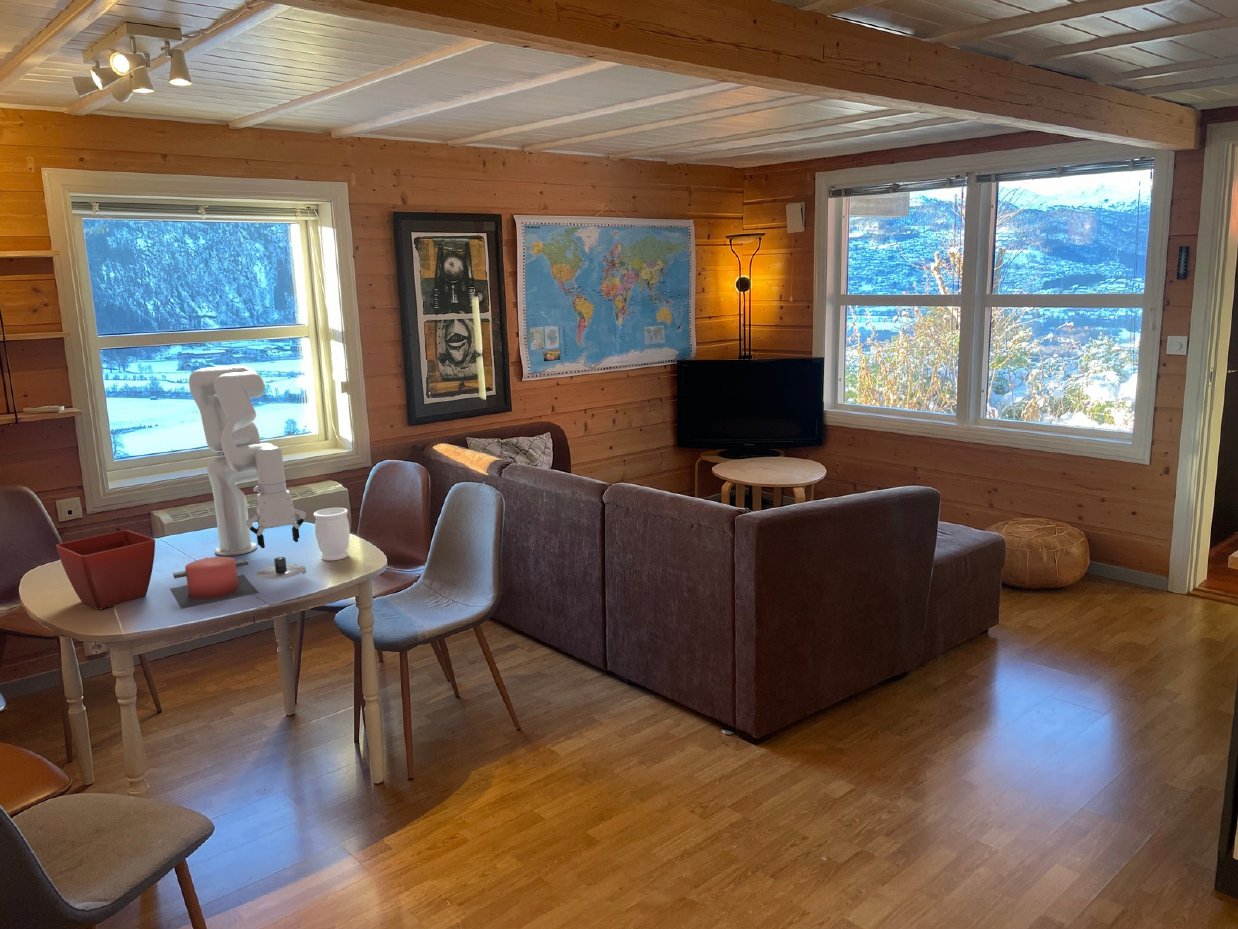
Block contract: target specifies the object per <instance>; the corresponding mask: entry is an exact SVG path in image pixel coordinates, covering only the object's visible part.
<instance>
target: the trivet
mask: <svg viewBox="0 0 1238 929" xmlns="http://www.w3.org/2000/svg"><path fill="white" fill-rule="evenodd" d="M237 578H238V587H239V588H238V589H237V590H236V591H235V592H233V593H231V594H228V595H225V596H221V597H216V598H208V599H197V598H192V597H190V596H189V593H188V585H182V586H176V587H171V588H169V590H170V592H171V593H172V595H173V597H174V599H175V600H176V603H177V604H178V606H179V607H180V609H182V610H183V609H187V608H192V607H197V606H202V605H207V604H211V603H216V602H222V601H226V600H231V599H235V598H240V597H241V598H242V597H246V596H251V595H255V594H259V591H258V589H257V588H256V587H254V585H253V584H252V582H250V581H249V580H248V578H247V577H246V575H244V574H239V575H238V574H237Z"/></svg>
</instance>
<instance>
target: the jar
mask: <svg viewBox="0 0 1238 929" xmlns="http://www.w3.org/2000/svg"><path fill="white" fill-rule="evenodd" d="M348 512H349V511H348V509H347V508H345V507H327V508H323V509H319V510H316V511H314V512H313V517H314V518H315V522H314V531H315V532H314V534H315V537H316V540H317V545H318V548H319V551H320V552H321V556H320V557H321V560H324V561H339V560H343V559H346V558H347V557H348V556H349V552H348V551H347V550H348V548H349V546H350V545H349V544H350V532H351V530H350V522H349V519H348Z"/></svg>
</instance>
